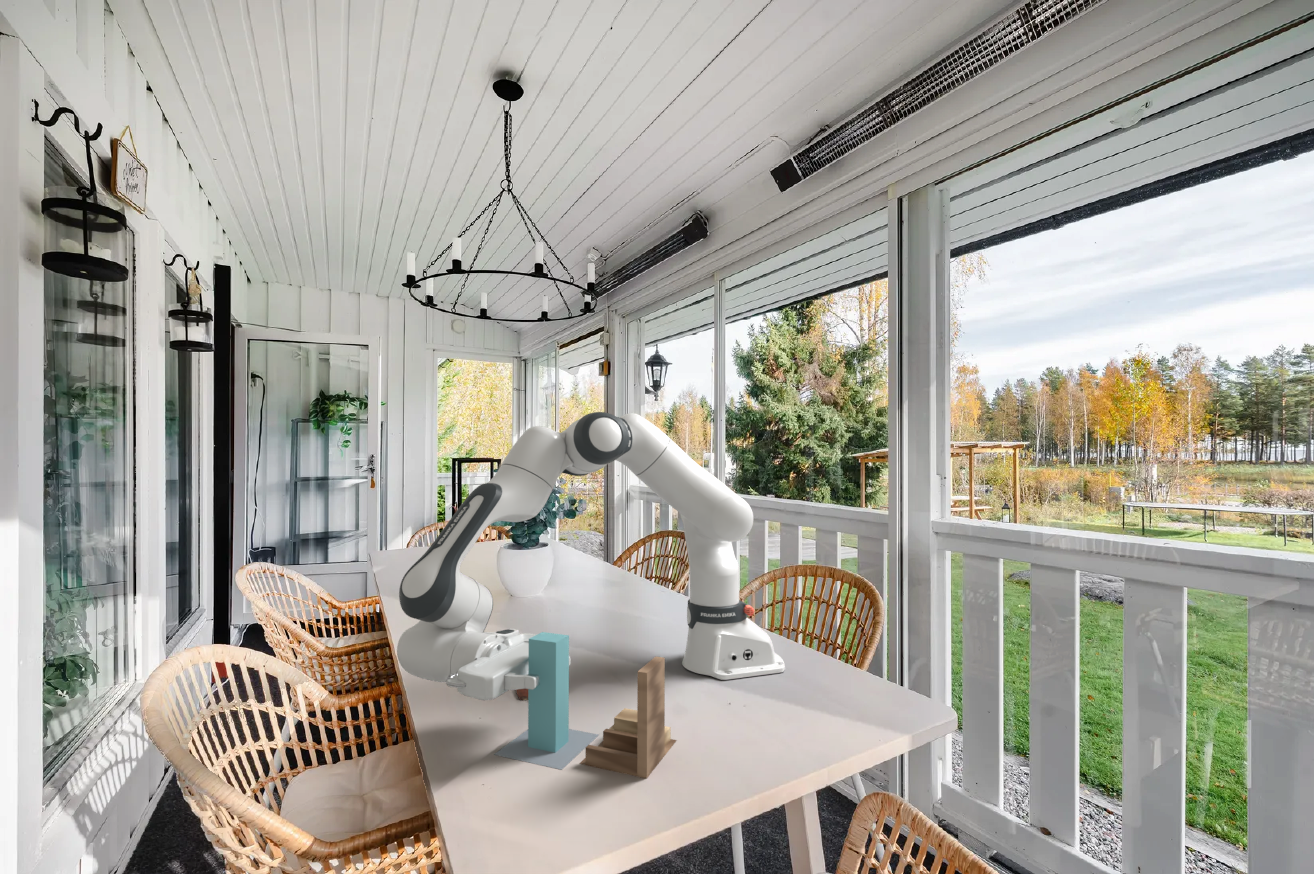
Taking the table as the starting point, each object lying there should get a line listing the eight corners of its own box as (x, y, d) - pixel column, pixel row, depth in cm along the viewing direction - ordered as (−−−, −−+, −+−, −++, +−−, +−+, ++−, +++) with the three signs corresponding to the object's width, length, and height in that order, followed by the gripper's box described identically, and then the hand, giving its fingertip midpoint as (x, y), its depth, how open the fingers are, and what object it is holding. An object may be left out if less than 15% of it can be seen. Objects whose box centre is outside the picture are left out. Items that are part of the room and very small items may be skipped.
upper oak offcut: (624, 720, 103) (624, 708, 103) (663, 727, 101) (663, 714, 101) (614, 730, 100) (614, 717, 100) (654, 737, 97) (654, 725, 97)
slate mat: (536, 728, 107) (536, 722, 107) (599, 740, 103) (599, 734, 103) (493, 760, 96) (494, 754, 96) (561, 776, 91) (561, 769, 91)
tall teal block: (541, 735, 102) (542, 631, 102) (568, 741, 100) (568, 635, 100) (528, 746, 98) (528, 638, 99) (555, 752, 96) (556, 642, 97)
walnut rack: (615, 734, 105) (615, 639, 105) (676, 746, 101) (676, 646, 101) (579, 770, 93) (579, 662, 93) (646, 785, 89) (647, 672, 89)
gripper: (438, 661, 95) (515, 674, 89) (517, 625, 114) (584, 634, 108) (438, 703, 95) (515, 718, 89) (517, 660, 114) (583, 670, 108)
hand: (553, 671), depth 99 cm, fingers open, 8 cm apart
